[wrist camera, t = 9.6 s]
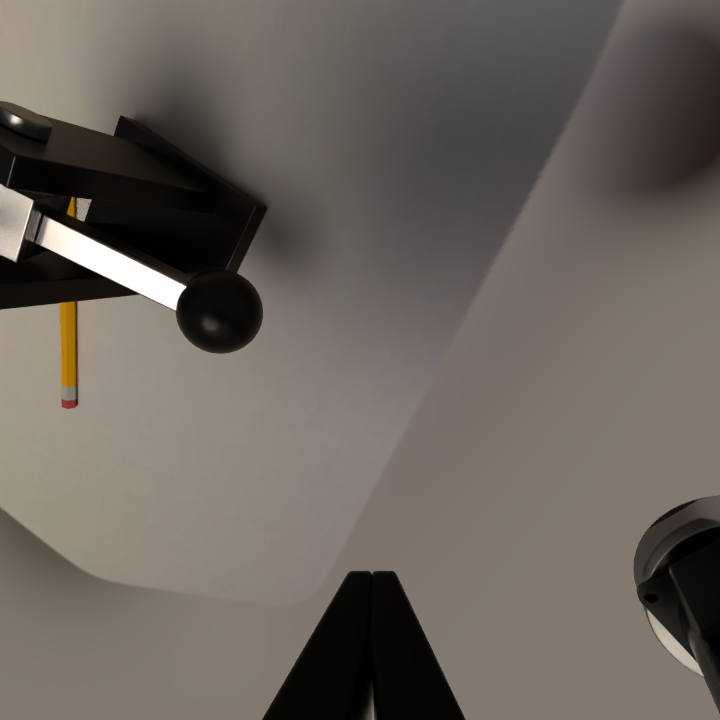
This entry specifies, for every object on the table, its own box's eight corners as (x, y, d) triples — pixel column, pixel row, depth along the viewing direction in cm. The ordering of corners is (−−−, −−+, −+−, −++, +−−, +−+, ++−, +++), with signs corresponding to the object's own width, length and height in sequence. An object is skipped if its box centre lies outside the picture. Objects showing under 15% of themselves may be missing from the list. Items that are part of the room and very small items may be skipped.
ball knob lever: (281, 284, 19) (271, 309, 16) (248, 347, 20) (234, 381, 17) (-3, 135, 16) (-73, 135, 13) (-24, 217, 17) (-92, 231, 14)
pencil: (69, 402, 28) (59, 406, 28) (66, 159, 25) (54, 157, 24) (80, 406, 28) (70, 409, 27) (79, 161, 25) (67, 159, 24)
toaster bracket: (267, 207, 22) (71, 172, 12) (215, 317, 24) (11, 361, 14) (136, 120, 23) (-138, 24, 13) (96, 232, 25) (-166, 218, 15)
